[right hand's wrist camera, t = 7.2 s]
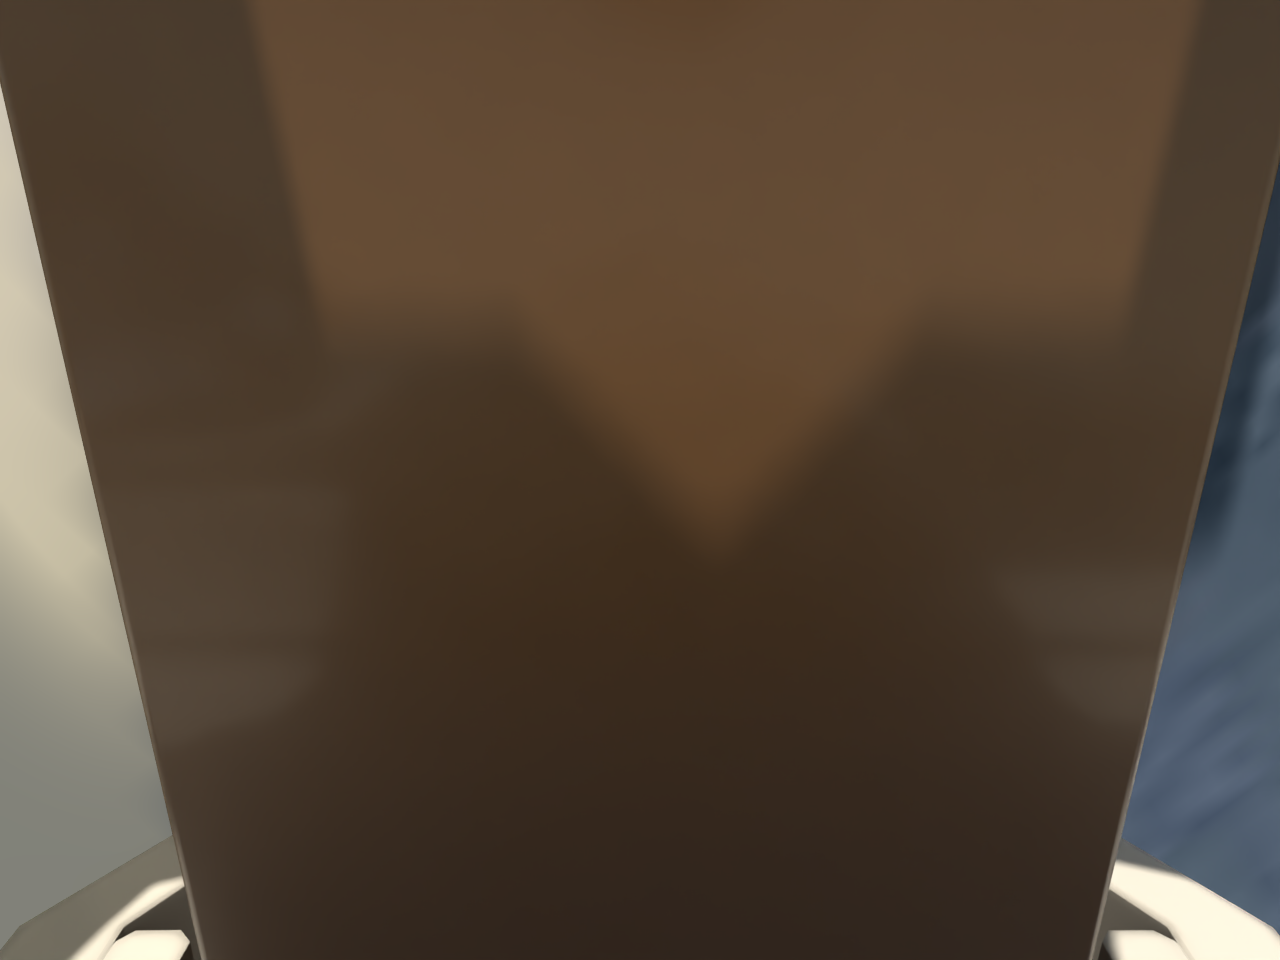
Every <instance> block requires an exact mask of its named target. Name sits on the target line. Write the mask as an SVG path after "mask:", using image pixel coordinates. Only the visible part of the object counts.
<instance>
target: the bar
mask: <svg viewBox="0 0 1280 960" xmlns="http://www.w3.org/2000/svg"><path fill="white" fill-rule="evenodd" d="M0 84H1V88H2V93H3V97H4V101H5V106H6V110H7V114H8V119H9V123H10V127H11V132H12V136H13V141H14V145H15V149H16V154H17V158H18V162H19V167H20V171H21V175H22V180H23V184H24V189H25V193H26V197H27V202H28V206H29V210H30V215H31V219H32V223H33V228H34V232H35V236H36V241H37V245H38V250H39V254H40V258H41V263H42V267H43V271H44V276H45V280H46V284H47V289H48V293H49V298H50V302H51V306H52V311H53V315H54V319H55V324H56V328H57V332H58V337H59V341H60V346H61V350H62V354H63V359H64V363H65V367H66V372H67V376H68V380H69V385H70V389H71V393H72V398H73V402H74V407H75V411H76V415H77V420H78V424H79V428H80V433H81V437H82V441H83V446H84V450H85V455H86V459H87V463H88V468H89V472H90V476H91V481H92V485H93V489H94V494H95V498H96V502H97V507H98V511H99V516H100V520H101V524H102V529H103V533H104V537H105V542H106V546H107V550H108V555H109V559H110V564H111V568H112V572H113V577H114V581H115V585H116V590H117V594H118V598H119V603H120V607H121V611H122V616H123V620H124V625H125V629H126V633H127V638H128V642H129V646H130V651H131V655H132V659H133V664H134V668H135V673H136V677H137V681H138V686H139V690H140V694H141V699H142V703H143V707H144V712H145V716H146V720H147V725H148V729H149V734H150V738H151V742H152V747H153V751H154V755H155V760H156V764H157V768H158V773H159V777H160V782H161V786H162V790H163V795H164V799H165V803H166V808H167V812H168V816H169V821H170V825H171V830H172V834H173V838H174V843H175V847H176V851H177V856H178V860H179V864H180V869H181V873H182V877H183V882H184V886H185V891H186V895H187V899H188V904H189V908H190V912H191V917H192V921H193V925H194V930H195V934H196V939H197V943H198V947H199V952H200V956H201V960H1092V959H1093V955H1094V951H1095V947H1096V942H1097V938H1098V934H1099V930H1100V925H1101V921H1102V917H1103V913H1104V908H1105V904H1106V900H1107V895H1108V891H1109V887H1110V883H1111V878H1112V874H1113V870H1114V866H1115V861H1116V857H1117V853H1118V849H1119V844H1120V840H1121V836H1122V831H1123V827H1124V823H1125V819H1126V814H1127V810H1128V806H1129V802H1130V797H1131V793H1132V789H1133V784H1134V780H1135V776H1136V772H1137V767H1138V763H1139V759H1140V755H1141V750H1142V746H1143V742H1144V738H1145V733H1146V729H1147V725H1148V720H1149V716H1150V712H1151V708H1152V703H1153V699H1154V695H1155V691H1156V686H1157V682H1158V678H1159V674H1160V669H1161V665H1162V661H1163V656H1164V652H1165V648H1166V644H1167V639H1168V635H1169V631H1170V627H1171V622H1172V618H1173V614H1174V609H1175V605H1176V601H1177V597H1178V592H1179V588H1180V584H1181V580H1182V575H1183V571H1184V567H1185V563H1186V558H1187V554H1188V550H1189V545H1190V541H1191V537H1192V533H1193V528H1194V524H1195V520H1196V516H1197V511H1198V507H1199V503H1200V499H1201V494H1202V490H1203V486H1204V481H1205V477H1206V473H1207V469H1208V464H1209V460H1210V456H1211V452H1212V447H1213V443H1214V439H1215V434H1216V430H1217V426H1218V422H1219V417H1220V413H1221V409H1222V405H1223V400H1224V396H1225V392H1226V388H1227V383H1228V379H1229V375H1230V370H1231V366H1232V362H1233V358H1234V353H1235V349H1236V345H1237V341H1238V336H1239V332H1240V328H1241V323H1242V319H1243V315H1244V311H1245V306H1246V302H1247V298H1248V294H1249V289H1250V285H1251V281H1252V277H1253V272H1254V268H1255V264H1256V259H1257V255H1258V251H1259V247H1260V242H1261V238H1262V234H1263V230H1264V225H1265V221H1266V217H1267V213H1268V208H1269V204H1270V200H1271V195H1272V191H1273V187H1274V183H1275V178H1276V174H1277V170H1278V166H1279V161H1280V0H0Z"/></svg>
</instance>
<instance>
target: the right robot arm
mask: <svg viewBox="0 0 1280 960" xmlns="http://www.w3.org/2000/svg"><path fill="white" fill-rule="evenodd" d="M0 960H201V956H200V952H199V947H198V943H197V939H196V934H195V930H194V925H193V921H192V917H191V912H190V908H189V904H188V899H187V895H186V891H185V886H184V882H183V877H182V873H181V869H180V864H179V860H178V856H177V851H176V847H175V843H174V838H173V835H172V836H170V837H169V838H167V839H165V840H163V841H162V842H160V843H158V844H157V845H155V846H153V847H152V848H150V849H148V850H147V851H145V852H143V853H142V854H140V855H138V856H137V857H135V858H133V859H132V860H130V861H128V862H127V863H125V864H123V865H122V866H120V867H118V868H117V869H115V870H113V871H111V872H110V873H108V874H106V875H105V876H103V877H101V878H100V879H98V880H96V881H95V882H93V883H91V884H90V885H88V886H86V887H85V888H83V889H81V890H80V891H78V892H76V893H75V894H73V895H71V896H70V897H68V898H66V899H65V900H63V901H61V902H59V903H58V904H56V905H55V906H53V907H51V908H49V909H48V910H46V911H44V912H43V913H41V914H39V915H38V916H36V917H34V918H33V919H31V920H29V921H28V922H26V923H24V924H23V925H21V926H20V927H19V928H18V929H17V930H16V931H15V933H14V934H13V935H12V936H11V938H10V939H9V940H8V941H7V943H6V944H5V945H4V946H3V948H2V949H1V950H0ZM1092 960H1280V936H1279V934H1278V933H1277V932H1276V931H1275V929H1274V928H1273V927H1271V926H1269V925H1268V924H1266V923H1264V922H1263V921H1261V920H1259V919H1258V918H1256V917H1254V916H1252V915H1251V914H1249V913H1247V912H1246V911H1244V910H1242V909H1241V908H1239V907H1237V906H1236V905H1234V904H1232V903H1231V902H1229V901H1227V900H1225V899H1224V898H1222V897H1220V896H1219V895H1217V894H1215V893H1214V892H1212V891H1210V890H1209V889H1207V888H1205V887H1204V886H1202V885H1200V884H1198V883H1197V882H1195V881H1193V880H1192V879H1190V878H1188V877H1187V876H1185V875H1183V874H1182V873H1180V872H1178V871H1177V870H1175V869H1173V868H1171V867H1170V866H1168V865H1166V864H1165V863H1163V862H1161V861H1160V860H1158V859H1156V858H1155V857H1153V856H1151V855H1150V854H1148V853H1146V852H1144V851H1143V850H1141V849H1139V848H1138V847H1136V846H1134V845H1133V844H1131V843H1129V842H1128V841H1126V840H1124V839H1123V838H1121V840H1120V844H1119V849H1118V853H1117V857H1116V861H1115V866H1114V870H1113V874H1112V878H1111V883H1110V887H1109V891H1108V895H1107V900H1106V904H1105V908H1104V913H1103V917H1102V921H1101V925H1100V930H1099V934H1098V938H1097V942H1096V947H1095V951H1094V955H1093V959H1092Z"/></svg>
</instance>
